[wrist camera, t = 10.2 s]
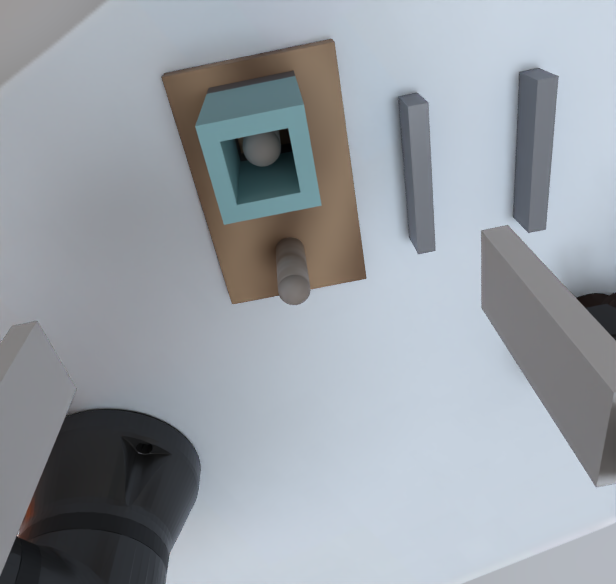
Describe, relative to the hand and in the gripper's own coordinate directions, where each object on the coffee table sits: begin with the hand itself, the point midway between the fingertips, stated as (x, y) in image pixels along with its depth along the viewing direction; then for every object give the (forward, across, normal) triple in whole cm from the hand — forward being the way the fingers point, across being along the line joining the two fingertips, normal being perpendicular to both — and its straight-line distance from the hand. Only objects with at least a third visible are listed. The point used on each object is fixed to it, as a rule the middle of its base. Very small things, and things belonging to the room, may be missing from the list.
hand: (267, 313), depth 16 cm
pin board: (+21, 0, -4) cm, 21 cm away
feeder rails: (+21, +13, -5) cm, 25 cm away
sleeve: (+20, 0, 0) cm, 20 cm away
